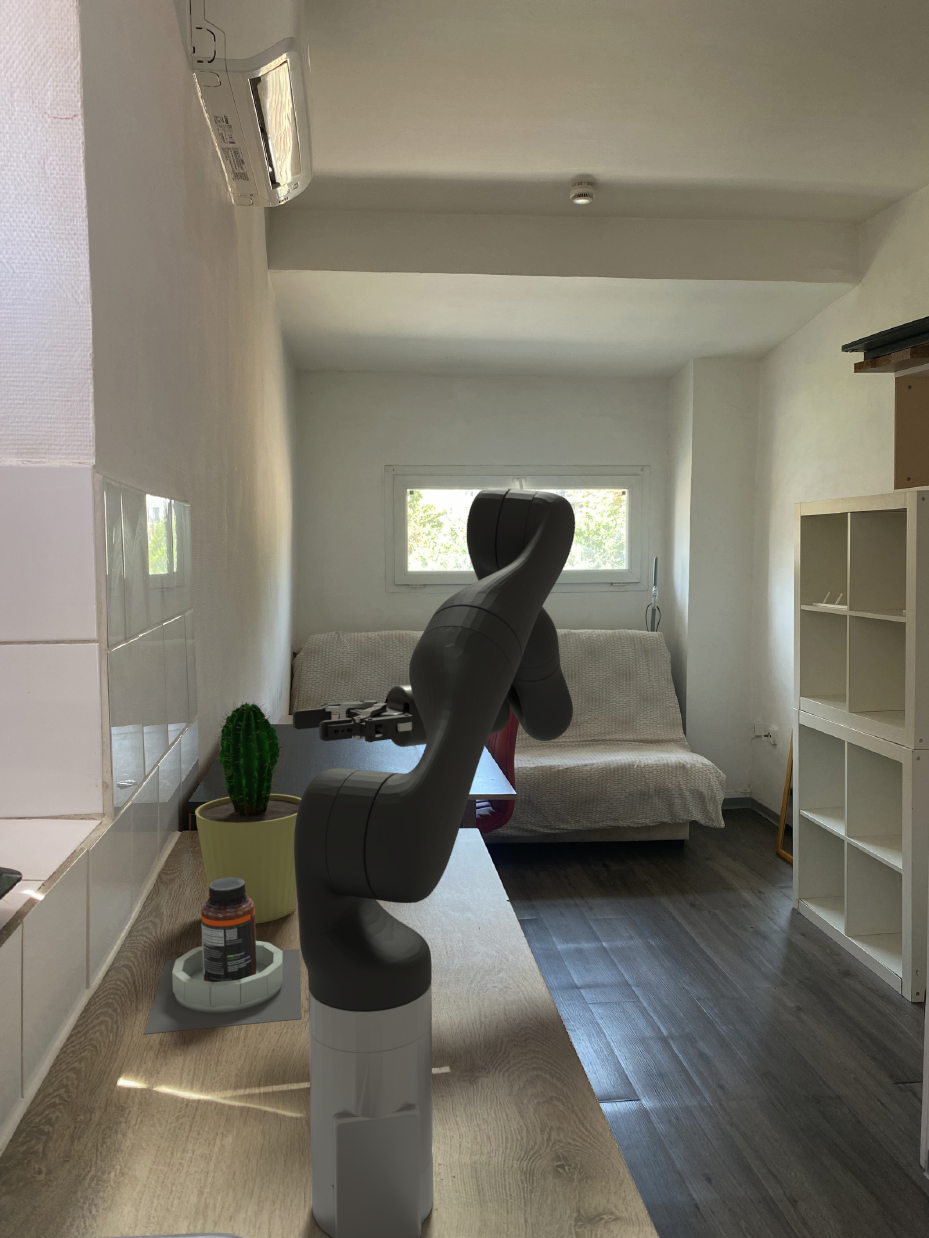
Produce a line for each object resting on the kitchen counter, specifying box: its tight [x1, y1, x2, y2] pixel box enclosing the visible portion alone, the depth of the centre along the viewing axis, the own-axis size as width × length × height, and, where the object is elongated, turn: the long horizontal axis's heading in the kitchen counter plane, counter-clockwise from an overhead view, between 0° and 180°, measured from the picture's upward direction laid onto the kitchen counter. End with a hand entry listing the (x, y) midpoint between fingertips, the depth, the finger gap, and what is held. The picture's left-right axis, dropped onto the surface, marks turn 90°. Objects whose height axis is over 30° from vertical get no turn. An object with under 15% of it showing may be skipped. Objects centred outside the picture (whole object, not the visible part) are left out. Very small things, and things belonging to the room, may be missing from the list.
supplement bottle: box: [200, 877, 257, 982], centre depth 105 cm, size 6×6×11 cm
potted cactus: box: [194, 700, 302, 925], centre depth 128 cm, size 15×15×30 cm
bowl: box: [172, 940, 283, 1013], centre depth 105 cm, size 12×12×3 cm
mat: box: [143, 948, 302, 1035], centre depth 105 cm, size 18×16×1 cm
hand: (306, 725), depth 106 cm, fingers open, 8 cm apart
